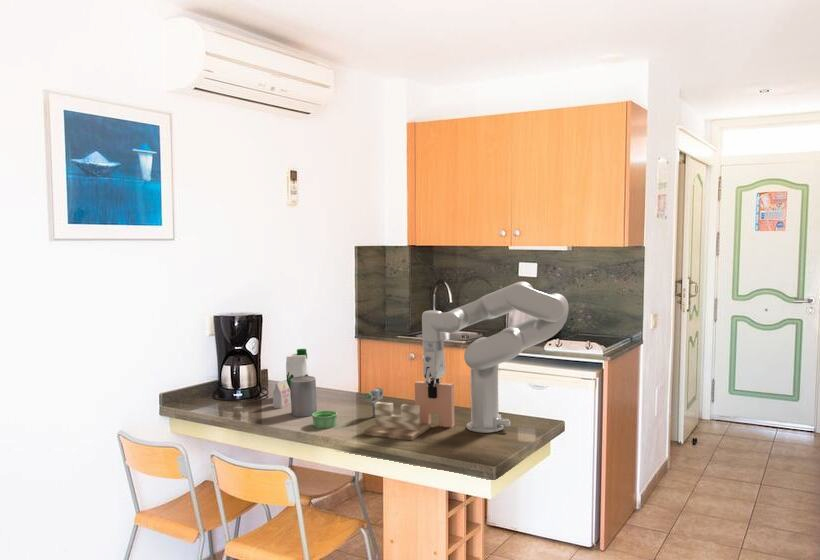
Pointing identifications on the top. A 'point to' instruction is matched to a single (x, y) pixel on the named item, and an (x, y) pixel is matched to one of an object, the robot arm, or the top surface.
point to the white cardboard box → (281, 395)
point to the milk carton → (296, 365)
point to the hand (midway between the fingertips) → (434, 396)
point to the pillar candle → (303, 396)
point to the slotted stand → (397, 422)
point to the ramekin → (324, 419)
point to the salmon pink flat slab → (436, 403)
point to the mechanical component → (374, 397)
